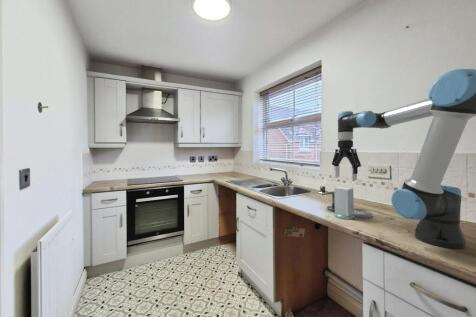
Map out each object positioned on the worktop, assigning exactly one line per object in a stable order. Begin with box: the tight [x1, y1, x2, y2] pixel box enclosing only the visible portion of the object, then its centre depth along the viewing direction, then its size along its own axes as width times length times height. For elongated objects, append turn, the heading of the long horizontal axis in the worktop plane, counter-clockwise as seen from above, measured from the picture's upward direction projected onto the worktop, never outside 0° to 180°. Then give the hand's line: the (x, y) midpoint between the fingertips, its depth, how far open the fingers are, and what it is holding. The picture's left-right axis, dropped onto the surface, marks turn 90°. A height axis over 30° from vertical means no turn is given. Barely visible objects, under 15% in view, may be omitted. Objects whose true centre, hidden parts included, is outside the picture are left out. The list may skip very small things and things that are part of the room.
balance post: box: [326, 194, 335, 212], centre depth 132 cm, size 8×8×10 cm
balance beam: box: [316, 186, 334, 196], centre depth 132 cm, size 6×22×5 cm, turn 101°
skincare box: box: [333, 186, 355, 216], centre depth 117 cm, size 8×6×15 cm
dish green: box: [333, 212, 355, 221], centre depth 118 cm, size 10×10×1 cm
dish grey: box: [354, 210, 373, 219], centre depth 120 cm, size 10×10×1 cm
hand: (345, 178), depth 116 cm, fingers open, 13 cm apart
